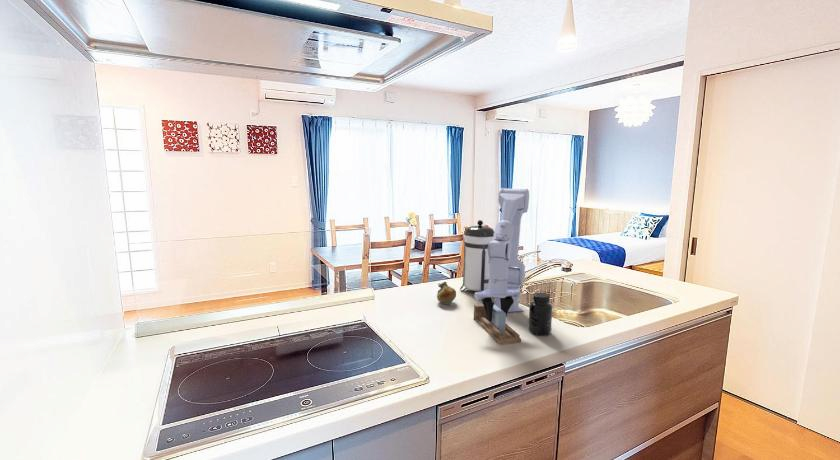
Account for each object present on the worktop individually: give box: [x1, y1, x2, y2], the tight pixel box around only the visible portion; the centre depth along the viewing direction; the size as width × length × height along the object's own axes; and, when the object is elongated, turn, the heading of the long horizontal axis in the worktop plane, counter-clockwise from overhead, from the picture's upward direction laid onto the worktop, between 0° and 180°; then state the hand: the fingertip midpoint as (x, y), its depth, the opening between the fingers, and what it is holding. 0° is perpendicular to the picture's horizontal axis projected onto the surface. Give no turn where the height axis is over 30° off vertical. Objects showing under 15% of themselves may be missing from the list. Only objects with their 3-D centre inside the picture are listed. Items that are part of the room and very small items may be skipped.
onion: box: [436, 281, 457, 305], centre depth 146 cm, size 8×8×8 cm
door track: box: [473, 303, 522, 345], centre depth 122 cm, size 20×7×5 cm, turn 14°
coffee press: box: [459, 219, 495, 292], centre depth 160 cm, size 17×16×30 cm
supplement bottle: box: [528, 292, 553, 336], centre depth 120 cm, size 7×7×12 cm
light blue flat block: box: [490, 304, 507, 332], centre depth 122 cm, size 9×2×6 cm, turn 14°
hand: (496, 319), depth 122 cm, fingers open, 4 cm apart
